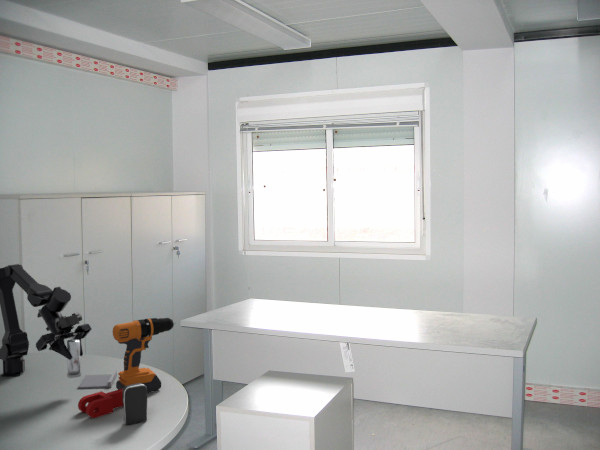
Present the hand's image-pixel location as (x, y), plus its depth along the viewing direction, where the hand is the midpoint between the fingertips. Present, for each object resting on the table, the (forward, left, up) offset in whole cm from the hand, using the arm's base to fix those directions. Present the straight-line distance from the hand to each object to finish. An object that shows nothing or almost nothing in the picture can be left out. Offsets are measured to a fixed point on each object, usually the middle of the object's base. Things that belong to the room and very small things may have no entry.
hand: (76, 357), depth 197 cm
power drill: (+22, +3, -13) cm, 26 cm away
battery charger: (+22, -23, -13) cm, 35 cm away
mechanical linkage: (+12, -13, -13) cm, 22 cm away
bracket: (+4, +12, -13) cm, 18 cm away
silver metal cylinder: (-1, +1, -7) cm, 7 cm away
